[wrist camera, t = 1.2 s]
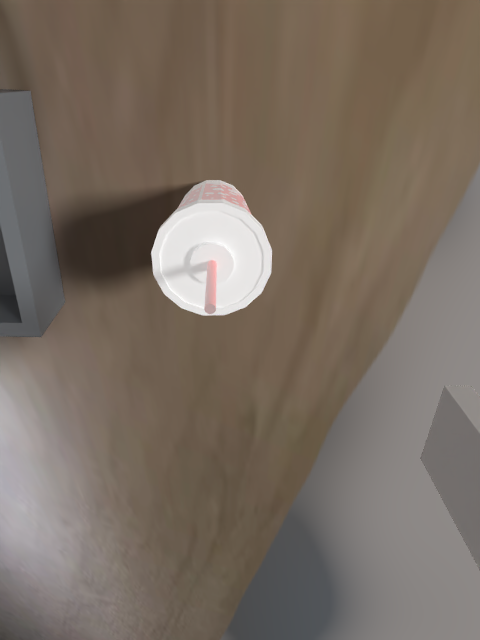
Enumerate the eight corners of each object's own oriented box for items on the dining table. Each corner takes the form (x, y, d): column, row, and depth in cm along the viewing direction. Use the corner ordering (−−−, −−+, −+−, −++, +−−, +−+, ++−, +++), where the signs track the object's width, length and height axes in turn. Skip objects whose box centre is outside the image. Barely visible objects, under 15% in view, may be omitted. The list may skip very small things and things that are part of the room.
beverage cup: (182, 263, 32) (158, 382, 19) (158, 178, 29) (111, 253, 16) (265, 247, 31) (295, 356, 19) (250, 158, 28) (272, 220, 16)
